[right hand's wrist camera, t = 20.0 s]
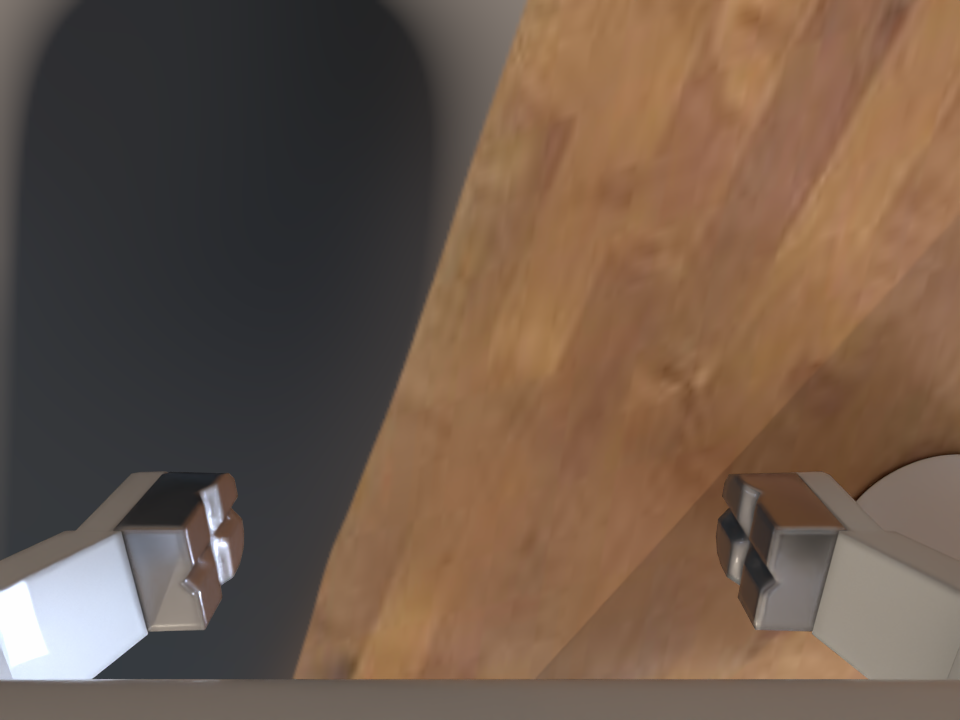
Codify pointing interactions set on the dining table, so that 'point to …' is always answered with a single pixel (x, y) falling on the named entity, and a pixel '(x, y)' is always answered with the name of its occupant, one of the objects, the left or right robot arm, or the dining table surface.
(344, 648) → the dining table surface
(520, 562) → the dining table surface
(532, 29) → the dining table surface
